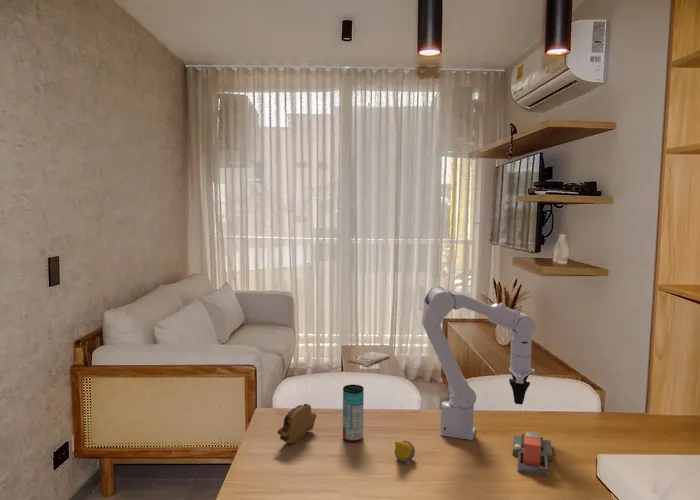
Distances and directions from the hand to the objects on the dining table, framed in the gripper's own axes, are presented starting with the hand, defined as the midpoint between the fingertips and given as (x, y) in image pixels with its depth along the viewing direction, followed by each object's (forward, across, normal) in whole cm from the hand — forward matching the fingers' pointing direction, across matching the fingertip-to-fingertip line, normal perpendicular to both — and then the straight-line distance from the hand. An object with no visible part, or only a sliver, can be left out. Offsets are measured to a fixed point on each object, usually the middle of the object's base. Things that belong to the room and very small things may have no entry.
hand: (518, 398), depth 152 cm
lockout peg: (+10, -20, -4) cm, 22 cm away
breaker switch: (+9, -11, -4) cm, 14 cm away
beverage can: (+11, -20, +45) cm, 50 cm away
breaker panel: (+10, -10, -4) cm, 15 cm away
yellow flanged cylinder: (+11, -28, +28) cm, 41 cm away
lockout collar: (+10, -20, -4) cm, 22 cm away
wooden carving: (+11, -26, +60) cm, 66 cm away
